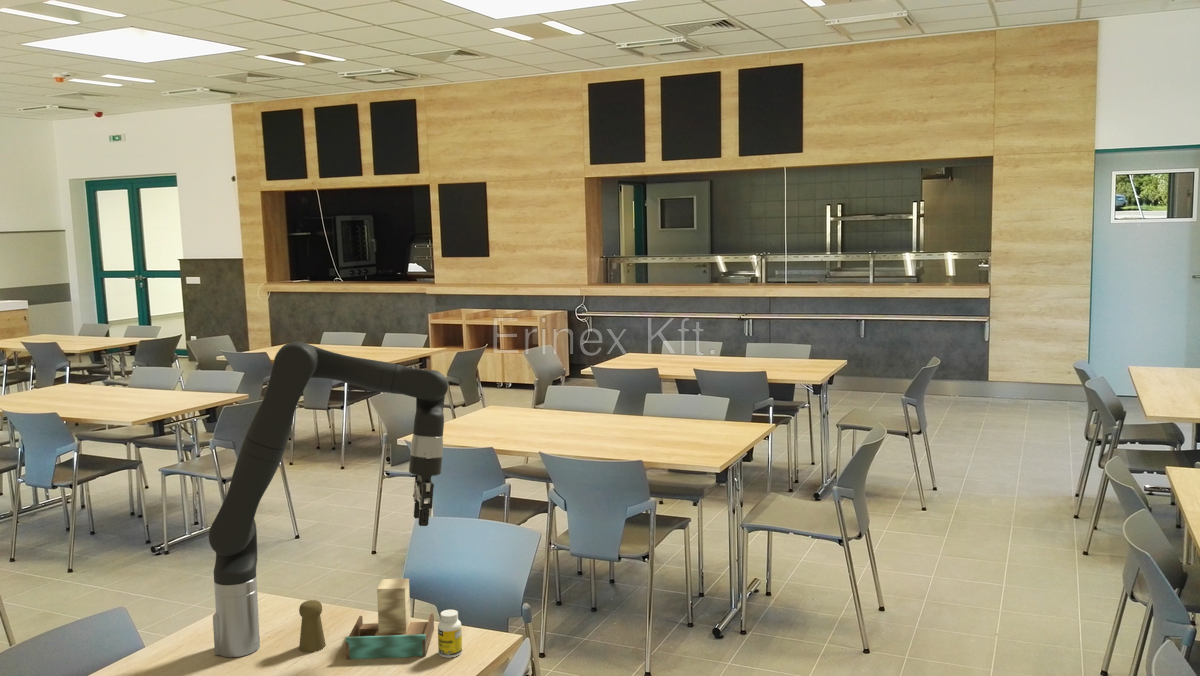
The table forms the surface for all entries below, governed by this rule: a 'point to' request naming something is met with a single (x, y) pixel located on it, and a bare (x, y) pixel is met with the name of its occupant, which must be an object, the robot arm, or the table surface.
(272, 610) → the table surface
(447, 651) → the supplement bottle
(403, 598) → the maple block
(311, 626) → the olive pawn
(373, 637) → the trap lane
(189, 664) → the table surface
